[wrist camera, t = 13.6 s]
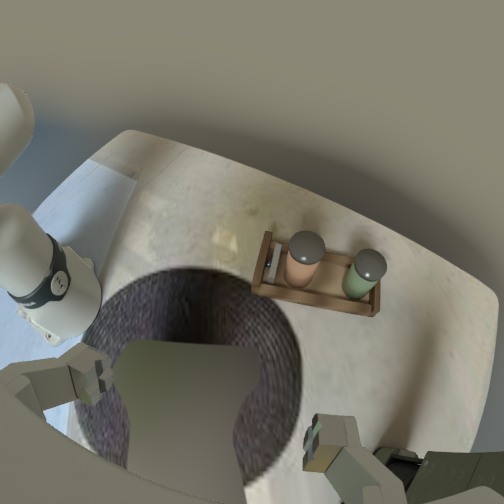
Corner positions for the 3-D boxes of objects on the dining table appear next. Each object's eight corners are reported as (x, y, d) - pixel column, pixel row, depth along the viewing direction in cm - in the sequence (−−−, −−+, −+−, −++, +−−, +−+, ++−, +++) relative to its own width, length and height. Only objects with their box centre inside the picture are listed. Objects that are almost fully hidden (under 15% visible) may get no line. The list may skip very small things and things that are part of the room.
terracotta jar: (280, 285, 45) (286, 257, 38) (285, 259, 48) (292, 227, 40) (310, 291, 45) (323, 264, 37) (314, 265, 47) (326, 234, 40)
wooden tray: (251, 293, 45) (251, 282, 41) (264, 244, 50) (265, 230, 47) (372, 317, 42) (382, 308, 39) (373, 267, 48) (382, 255, 44)
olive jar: (339, 297, 44) (355, 275, 37) (342, 270, 47) (356, 245, 40) (367, 302, 43) (387, 281, 37) (368, 276, 46) (386, 252, 39)
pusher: (261, 284, 45) (262, 275, 42) (269, 252, 48) (270, 242, 46) (272, 287, 45) (274, 278, 42) (279, 254, 48) (281, 244, 46)
